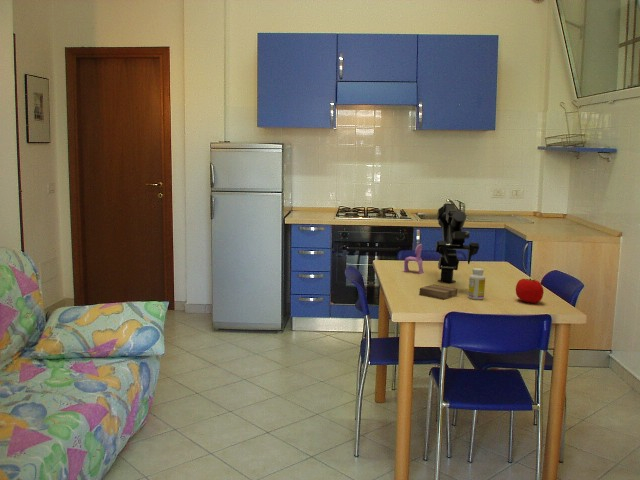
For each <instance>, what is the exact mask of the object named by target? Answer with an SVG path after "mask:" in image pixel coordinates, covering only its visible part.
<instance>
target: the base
mask: <svg viewBox="0 0 640 480" xmlns="http://www.w3.org/2000/svg"><path fill="white" fill-rule="evenodd" d="M458 290H459V289H458V288H455V287H449V286H443V285H439V284H430V285H426V286H422V287H419V294H418V295H419V296H424V297H428V298H433V299H439V300H442V301H443V300H447V299H451V298H454V297H456V296H458Z"/></svg>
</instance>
